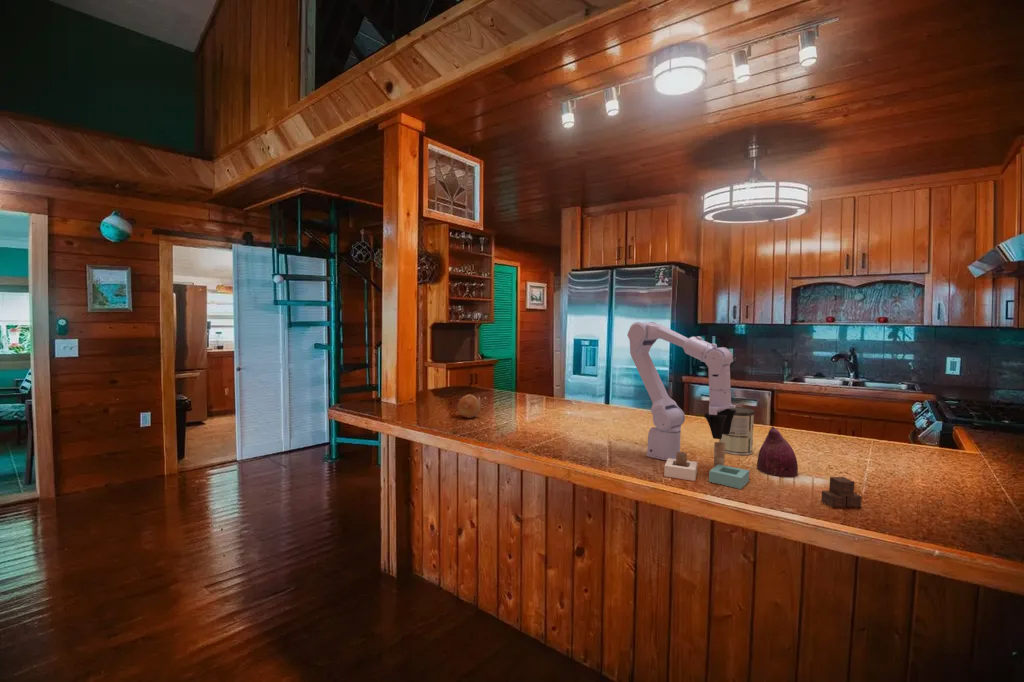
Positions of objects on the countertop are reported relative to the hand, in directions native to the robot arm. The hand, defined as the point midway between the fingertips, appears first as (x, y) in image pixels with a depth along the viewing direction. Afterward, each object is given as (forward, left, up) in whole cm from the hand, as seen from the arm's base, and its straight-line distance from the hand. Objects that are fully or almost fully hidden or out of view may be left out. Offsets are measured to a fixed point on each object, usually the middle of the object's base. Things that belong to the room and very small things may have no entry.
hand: (721, 436), depth 136 cm
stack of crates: (+28, -6, -11) cm, 31 cm away
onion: (-102, -1, -10) cm, 103 cm away
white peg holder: (-7, -11, -10) cm, 17 cm away
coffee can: (-2, +25, -10) cm, 27 cm away
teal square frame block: (+5, -8, -10) cm, 14 cm away
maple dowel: (0, 0, -10) cm, 10 cm away
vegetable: (+13, +11, -10) cm, 20 cm away
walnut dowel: (-7, -11, -10) cm, 17 cm away
